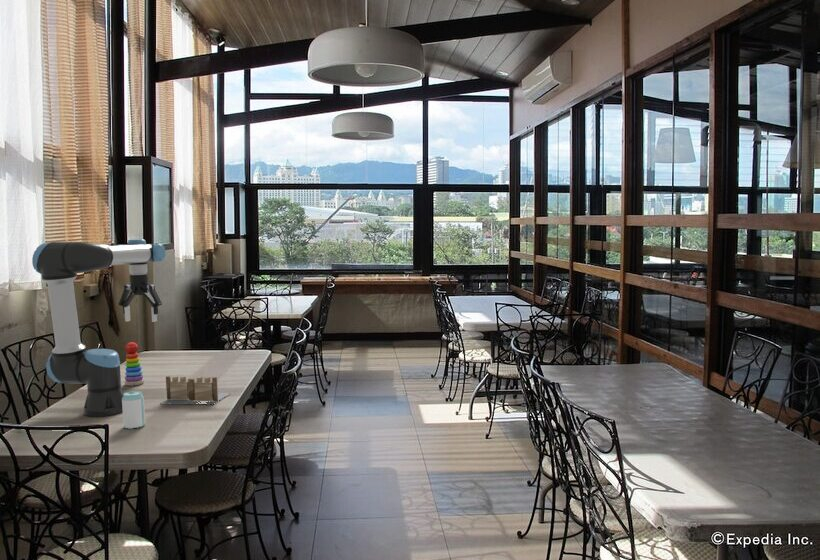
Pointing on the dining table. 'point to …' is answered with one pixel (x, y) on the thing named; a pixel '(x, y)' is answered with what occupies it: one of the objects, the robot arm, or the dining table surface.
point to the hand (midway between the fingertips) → (141, 321)
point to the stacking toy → (133, 366)
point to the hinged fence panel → (177, 388)
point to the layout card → (177, 401)
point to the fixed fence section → (203, 389)
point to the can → (133, 410)
